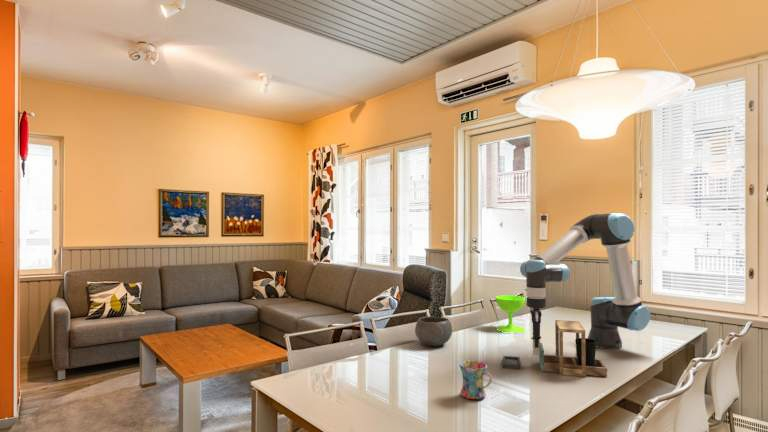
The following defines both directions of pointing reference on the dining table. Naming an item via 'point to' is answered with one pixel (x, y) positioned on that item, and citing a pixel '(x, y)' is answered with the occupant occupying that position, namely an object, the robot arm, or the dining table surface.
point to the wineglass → (510, 311)
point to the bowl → (433, 330)
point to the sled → (569, 364)
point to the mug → (473, 379)
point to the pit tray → (511, 362)
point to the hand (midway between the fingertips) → (536, 354)
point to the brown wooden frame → (559, 329)
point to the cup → (590, 351)
